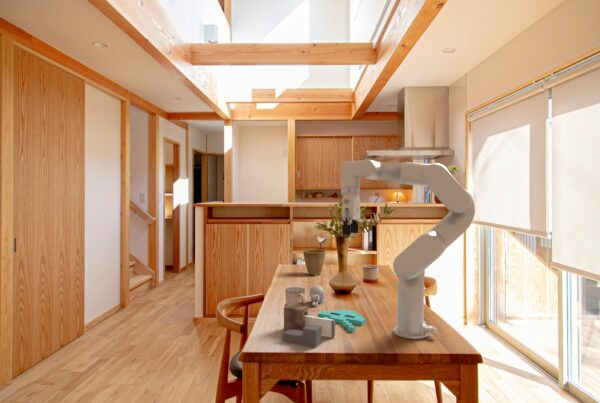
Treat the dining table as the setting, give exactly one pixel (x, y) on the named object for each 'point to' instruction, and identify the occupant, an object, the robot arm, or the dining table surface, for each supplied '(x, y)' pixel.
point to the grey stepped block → (304, 336)
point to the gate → (321, 324)
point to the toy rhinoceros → (316, 295)
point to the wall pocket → (294, 317)
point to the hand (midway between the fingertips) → (350, 233)
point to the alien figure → (344, 318)
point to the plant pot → (314, 261)
